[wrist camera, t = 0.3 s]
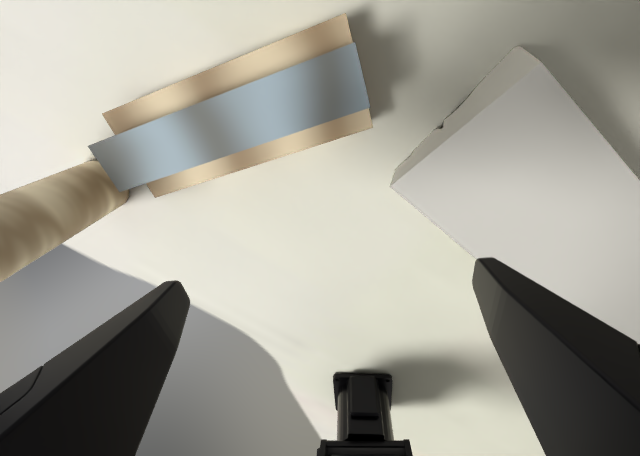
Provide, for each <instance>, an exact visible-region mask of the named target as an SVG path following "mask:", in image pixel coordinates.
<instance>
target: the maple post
mask: <svg viewBox="0 0 640 456" xmlns="http://www.w3.org/2000/svg"><path fill="white" fill-rule="evenodd" d="M128 196H129V189H128V190H125V191H122V192H119V191H118V189H117V188H116V187H115V185H114V184H113V182H112V181H111V179H110V178H109V176H108V175H107V173H106V172H105V171H104V169H103V168H102V166H101V165H100V163H99V162H98V161H88V162H85V163H83V164H80V165H77V166H75V167H72V168H70V169H67V170H64V171H62V172H59V173H56V174H54V175H51V176H48V177H46V178H43V179H40V180H38V181H35V182H33V183H30V184H27V185H25V186H22V187H19V188H17V189H14V190H11V191H9V192H6V193H3V194H1V195H0V282H2V281H3V280H5V279H6V278H8V277H9V276H11V275H13V274H14V273H16V272H17V271H19V270H20V269H22V268H24V267H25V266H27V265H28V264H30V263H31V262H33V261H35V260H36V259H38V258H39V257H41V256H42V255H44V254H46V253H47V252H49V251H50V250H52V249H54V248H55V247H57V246H58V245H60V244H61V243H63V242H65V241H66V240H68V239H69V238H71V237H73V236H74V235H76V234H77V233H79V232H80V231H82V230H84V229H85V228H87V227H88V226H90V225H91V224H93V223H95V222H96V221H98V220H99V219H101V218H103V217H104V216H106V215H107V214H109V213H110V212H112V211H114V210H115V209H117V208H118V207H120V206H121V205H123V204H124V203H125V202H126V201H127V199H128Z"/></svg>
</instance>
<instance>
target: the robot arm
mask: <svg viewBox="0 0 640 456" xmlns="http://www.w3.org/2000/svg"><path fill="white" fill-rule="evenodd" d="M472 284H473V289H474V292H475V295H476V298H477V301H478V303H479V306H480V309H481V312H482V315H483V318H484V321H485V324H486V327H487V330H488V333H489V335H490V338H491V340H492V342H493V345H494V347H495V349H496V351H497V353H498V355H499V357H500V360H501V362H502V364H503V366H504V368H505V370H506V372H507V374H508V376H509V379H510V381H511V383H512V385H513V387H514V389H515V391H516V393H517V395H518V398H519V400H520V402H521V404H522V406H523V408H524V410H525V412H526V414H527V417H528V419H529V421H530V423H531V425H532V427H533V429H534V431H535V433H536V436H537V438H538V440H539V442H540V444H541V446H542V448H543V450H544V452H545V455H546V456H640V344H638V343H637V342H636V341H635V340H633V339H632V338H630V337H628V336H627V335H625V334H623V333H621V332H620V331H618V330H616V329H615V328H613V327H611V326H610V325H608V324H606V323H604V322H603V321H601V320H599V319H598V318H596V317H594V316H593V315H591V314H589V313H587V312H586V311H584V310H582V309H581V308H579V307H577V306H576V305H574V304H572V303H570V302H569V301H567V300H565V299H564V298H562V297H560V296H559V295H557V294H555V293H553V292H552V291H550V290H548V289H547V288H545V287H543V286H542V285H540V284H538V283H536V282H535V281H533V280H531V279H530V278H528V277H526V276H524V275H523V274H521V273H519V272H518V271H516V270H514V269H513V268H511V267H509V266H507V265H506V264H504V263H502V262H501V261H499V260H497V259H496V258H493V257H485V258H478V259H477V260H476V262H475V267H474V273H473V279H472ZM189 306H190V299H189V297H188V295H187V293H186V291H185V289H184V288H183V286H182V284H181V282H179V281H166V282H164V283H162V284H161V285H159V286H158V287H157V288H155V289H154V290H152V291H151V292H149V293H148V294H146V295H145V296H143V297H142V298H140V299H139V300H137V301H136V302H134V303H133V304H132V305H130V306H129V307H127V308H126V309H124V310H123V311H122V312H120V313H118V314H117V315H115V316H114V317H112V318H111V319H110V320H108V321H107V322H105V323H104V324H103V325H101V326H99V327H98V328H96V329H95V330H93V331H92V332H90V333H89V334H88V335H86V336H85V337H83V338H82V339H81V340H79V341H77V342H76V343H74V344H73V345H71V346H70V347H68V348H67V349H66V350H64V351H63V352H61V353H60V354H58V355H57V356H55V357H54V358H52V359H51V360H49V361H48V362H46V363H45V364H44V366H40V367H39V368H37V369H36V370H35V371H33V372H32V373H30V374H29V375H27V376H26V377H24V378H23V379H21V380H20V381H18V382H17V383H16V384H14V385H12V386H11V387H9V388H8V389H6V390H5V391H3V392H2V393H0V456H135V455H136V452H137V450H138V447H139V445H140V442H141V439H142V437H143V434H144V432H145V429H146V427H147V424H148V422H149V419H150V416H151V414H152V412H153V409H154V407H155V404H156V402H157V399H158V397H159V394H160V391H161V389H162V387H163V384H164V382H165V379H166V377H167V374H168V372H169V369H170V367H171V364H172V361H173V359H174V356H175V354H176V351H177V348H178V345H179V342H180V338H181V335H182V331H183V327H184V324H185V321H186V317H187V314H188V310H189ZM333 384H334V395H335V406H336V410H337V411H338V421H337V441H327V440H321V445H320V448H319V449H317V456H413V455H412V451H411V446H410V441H409V439H404V440H403V441H394V437H393V430H392V422H391V415H390V410H391V394H392V376H391V375H388V374H335V375H334V376H333Z"/></svg>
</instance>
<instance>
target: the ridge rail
mask: <svg viewBox="0 0 640 456" xmlns="http://www.w3.org/2000/svg"><path fill="white" fill-rule="evenodd" d="M369 108H370V103H369V99H368V95H367V90H366V86H365V82H364V78H363V74H362V69H361V65H360V61H359V57H358V52H357V48H356V44H355V42H354V43H353V41H352V37H351V33H350V29H349V25H348V20H347V16H346V13H345V14H342V15H340V16H337V17H335V18H332V19H330V20H328V21H325V22H323V23H320V24H318V25H315V26H313V27H311V28H308V29H306V30H303V31H301V32H299V33H296V34H294V35H291V36H289V37H286V38H284V39H282V40H279V41H277V42H274V43H272V44H270V45H267V46H265V47H262V48H260V49H257V50H255V51H253V52H250V53H248V54H245V55H243V56H240V57H238V58H236V59H233V60H231V61H228V62H226V63H224V64H221V65H219V66H216V67H214V68H211V69H209V70H207V71H204V72H202V73H199V74H197V75H195V76H192V77H190V78H187V79H185V80H182V81H180V82H178V83H175V84H173V85H170V86H168V87H166V88H163V89H161V90H158V91H156V92H153V93H151V94H149V95H146V96H144V97H141V98H139V99H136V100H134V101H132V102H129V103H127V104H124V105H122V106H120V107H117V108H115V109H112V110H110V111H107V112H105V113H103V114H102V115H103V116H104V118H105V120H106V121H107V123H108V124H109V126H110V127H111V129H112V131H113V132H114V134H115V136H112V137H110V138H107V139H105V140H102V141H100V142H97V143H94V144H92V145H89V146H88V147H89V149H90V150H91V152H92V153H93V155H94V156H95V157H96V159H97V160H98V162H99V163H100V165H101V166H102V168H103V169H104V171H105V172H106V173H107V175H108V176H109V178H110V179H111V181H112V182H113V184H114V185H115V187H116V188H117V189H118V191H119V192H122V191H125V190H128V189H131V188H134V187H137V186H139V185H142V184H145V183H146V184H147V186H148V187H149V189H150V191H151V192H152V194H153V195H154V197H155V198H156V197H159V196H162V195H165V194H168V193H171V192H175V191H178V190H181V189H184V188H187V187H190V186H193V185H196V184H199V183H202V182H206V181H209V180H212V179H215V178H218V177H221V176H224V175H227V174H230V173H233V172H237V171H240V170H243V169H246V168H249V167H252V166H255V165H258V164H261V163H264V162H268V161H271V160H274V159H277V158H280V157H283V156H286V155H289V154H292V153H296V152H299V151H302V150H305V149H308V148H311V147H314V146H317V145H320V144H323V143H327V142H330V141H333V140H336V139H339V138H342V137H345V136H348V135H351V134H354V133H358V132H361V131H364V130H367V129H370V128H373V125H372V121H371V116H370V112H369Z"/></svg>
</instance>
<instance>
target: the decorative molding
mask: <svg viewBox="0 0 640 456" xmlns="http://www.w3.org/2000/svg"><path fill="white" fill-rule="evenodd" d="M390 187H391V188H392V189H393V190H394V191H396V192H397V193H398V194H399V195H400V196H402V197H403V198H404V199H405V200H406V201H408V202H409V203H410V204H411V205H412V206H414V207H415V208H416V209H417V210H418V211H419V212H421V213H422V214H423V215H424V216H425V217H427V218H428V219H429V220H430V221H431V222H433V223H434V224H435V225H436V226H437V227H439V228H440V229H441V230H442V231H443V232H444V233H446V234H447V235H448V236H449V237H450V238H452V239H453V240H454V241H455V242H456V243H458V244H459V245H460V246H461V247H462V248H463V249H465V250H466V251H467V252H468V253H469V254H471V255H472V256H473V257H474V258H475V259H478V258H485V257H493V258H496V259H497V260H499V261H501V262H502V263H504V264H506V265H507V266H509V267H511V268H513V269H514V270H516V271H518V272H519V273H521V274H523V275H524V276H526V277H528V278H530V279H531V280H533V281H535V282H536V283H538V284H540V285H542V286H543V287H545V288H547V289H548V290H550V291H552V292H553V293H555V294H557V295H559V296H560V297H562V298H564V299H565V300H567V301H569V302H570V303H572V304H574V305H576V306H577V307H579V308H581V309H582V310H584V311H586V312H587V313H589V314H591V315H593V316H594V317H596V318H598V319H599V320H601V321H603V322H604V323H606V324H608V325H610V326H611V327H613V328H615V329H616V330H618V331H620V332H621V333H623V334H625V335H627V336H628V337H630V338H632V339H633V340H635V341H636V342H637V343H638V344H640V180H639V179H638V178H637V177H636V175H635V174H634V173H633V172H632V171H631V169H630V168H629V167H628V166H627V164H626V163H625V162H624V161H623V160H622V158H621V157H620V156H619V155H618V154H617V152H616V151H615V150H614V149H613V148H612V146H611V145H610V144H609V143H608V142H607V140H606V139H605V138H604V137H603V136H602V134H601V133H600V132H599V131H598V129H597V128H596V127H595V126H594V125H593V123H592V122H591V121H590V120H589V119H588V117H587V116H586V115H585V114H584V113H583V111H582V110H581V109H580V108H579V107H578V105H577V104H576V103H575V102H574V101H573V99H572V98H571V97H570V96H569V94H568V93H567V92H566V91H565V90H564V88H563V87H562V86H561V85H560V84H559V82H558V81H557V80H556V79H555V78H554V76H553V75H552V74H551V73H550V72H549V70H548V69H547V68H546V67H545V66H544V64H543V63H542V62H541V61H540V60H538V59H537V58H536V57H534V56H533V55H532V54H530V53H529V52H527V51H526V50H525V49H523V48H522V47H521V46H517V47H514V48H513V49H512V50H511V51H510V52H509V53H508V54H507V55H506V56H505V57H504V58H503V59H502V60H501V61H500V62H499V63H498V64H497V65H496V66H495V67H494V68H493V70H492V71H491V72H490V73H489V74H488V75H487V76H486V77H485V78H484V79H483V80H482V81H481V82H480V83H479V84H478V85H477V86H476V88H475V89H474V90H473V91H472V93H471V94H470V95H469V96H468V98H467V99H466V100H465V101H464V102H463V103H462V104H461V105H460V106H459V108H458V109H457V110H456V111H454V112H453V113H452V114H451V115H450V116H448V117H447V118H446V119H444V123H443V128H442V129H434V130H433V131H432V132H431V133H430V134H429V135H428V136H427V137H426V138H425V139H424V140H423V141H422V142H421V144H420V145H419V146H418V147H417V148H416V149H415V150H414V151H413V152H412V155H411V156H410V157H409V158H407V159H406V160H405V161H404V162H403V163H402V164H400V165H399V166H398V167H397V168H396V169H395V172H394V175H393V178H392V182H391V185H390Z"/></svg>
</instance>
